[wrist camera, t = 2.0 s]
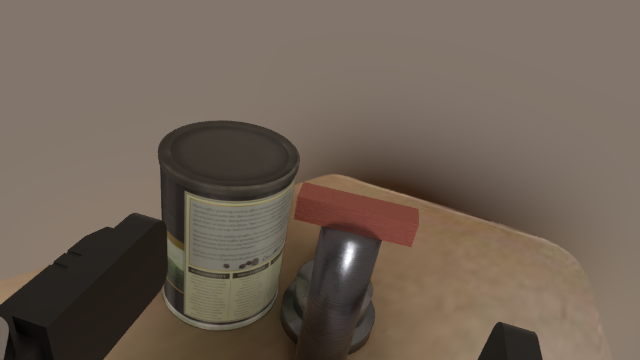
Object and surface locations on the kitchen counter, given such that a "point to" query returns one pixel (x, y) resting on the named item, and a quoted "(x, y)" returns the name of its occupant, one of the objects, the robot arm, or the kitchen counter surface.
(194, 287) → the coffee can
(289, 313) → the base
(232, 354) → the kitchen counter surface
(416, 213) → the crank
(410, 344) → the kitchen counter surface
